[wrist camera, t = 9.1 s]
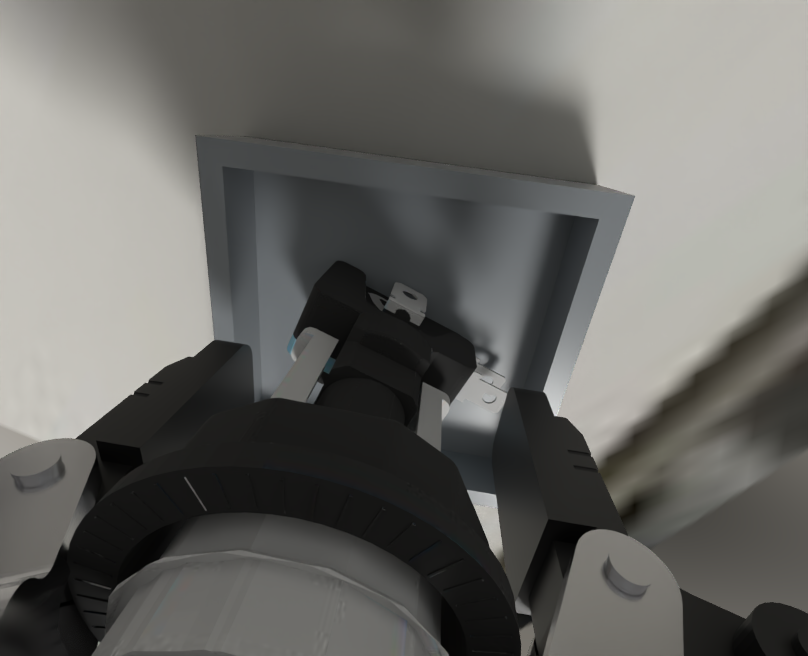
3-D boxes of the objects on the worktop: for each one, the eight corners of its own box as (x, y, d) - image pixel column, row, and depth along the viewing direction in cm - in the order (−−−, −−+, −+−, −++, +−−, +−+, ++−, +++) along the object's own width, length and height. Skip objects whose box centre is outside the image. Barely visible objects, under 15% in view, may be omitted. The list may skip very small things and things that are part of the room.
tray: (257, 417, 16) (225, 461, 14) (244, 136, 12) (195, 135, 9) (512, 459, 16) (522, 512, 13) (598, 184, 11) (635, 195, 9)
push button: (545, 315, 12) (819, 809, 3) (455, 434, 14) (467, 924, 5) (347, 208, 11) (-25, 457, 2) (285, 351, 14) (-32, 759, 5)
